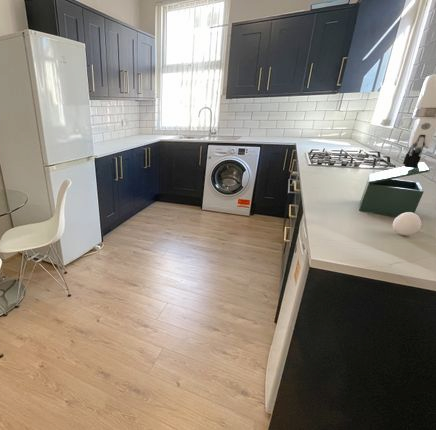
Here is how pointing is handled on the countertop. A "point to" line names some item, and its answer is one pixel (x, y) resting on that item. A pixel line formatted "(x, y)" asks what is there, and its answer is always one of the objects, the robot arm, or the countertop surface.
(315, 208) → the countertop surface
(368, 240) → the countertop surface
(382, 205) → the bin
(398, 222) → the egg
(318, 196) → the countertop surface
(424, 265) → the countertop surface
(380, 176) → the bin lid
